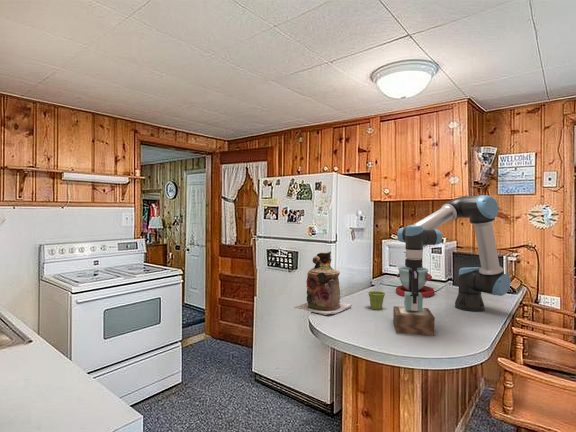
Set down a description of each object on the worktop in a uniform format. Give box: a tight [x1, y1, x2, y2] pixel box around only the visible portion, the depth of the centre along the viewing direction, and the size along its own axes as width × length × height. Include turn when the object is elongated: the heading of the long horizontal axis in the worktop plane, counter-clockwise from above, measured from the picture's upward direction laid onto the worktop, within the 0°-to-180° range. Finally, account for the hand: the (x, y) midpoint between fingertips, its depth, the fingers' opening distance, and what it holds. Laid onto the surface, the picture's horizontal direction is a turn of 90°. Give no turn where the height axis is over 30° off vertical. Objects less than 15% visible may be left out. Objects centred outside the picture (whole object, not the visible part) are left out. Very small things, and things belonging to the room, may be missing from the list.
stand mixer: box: [395, 243, 435, 298], centre depth 247 cm, size 24×32×40 cm
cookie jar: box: [293, 251, 353, 316], centre depth 206 cm, size 25×25×32 cm
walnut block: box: [392, 305, 436, 337], centre depth 171 cm, size 16×16×8 cm
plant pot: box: [367, 290, 386, 311], centre depth 207 cm, size 9×9×9 cm
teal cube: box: [403, 292, 424, 311], centre depth 171 cm, size 7×7×7 cm
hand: (413, 308), depth 171 cm, fingers closed on teal cube, 7 cm apart
